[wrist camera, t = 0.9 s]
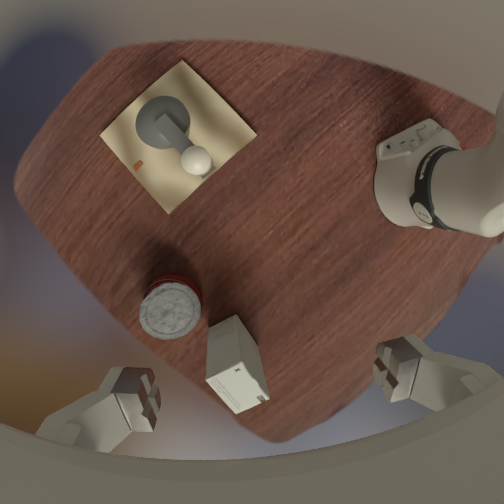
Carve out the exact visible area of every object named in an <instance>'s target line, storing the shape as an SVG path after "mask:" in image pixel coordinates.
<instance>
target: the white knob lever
mask: <svg viewBox="0 0 504 504" xmlns="http://www.w3.org/2000/svg"><path fill="white" fill-rule="evenodd" d="M135 127H136V132H137V135H138V136H139V138H140V139H141V140H142V141H143V142H144V143H145V144H147V145H149V146H151V147H153V148H156V149H169V148H172V147H174V148H175V149H176V150H177V151H178V152H179V153H180V154H181V155H182V157H181V164H182V167H183V168H184V170H185V171H187V172H188V173H191V174H194V175H196V176H201V177H202V178H203V179H204V178H205V177H206V176H207V175H208V174H209V173H210V172H212V171H213V170H214V169H215V166H214V165H213V159H212V157H211V156H210V154H209V153H208V151H207V150H206V149H205V148H203V147H201V146H195V145H194V144H193V143H192V141H191V140H190V139H189V138H188V137H187V136H186V135H187V134H188V132H189V129H190V115H189V113H188V111H187V109H186V107H185V106H184V104H183V103H182V102H181V101H180V100H178V99H177V98H175V97H171V96H159V97H155V98H153V99H151V100H149V101H148V102H147V103H145V104H144V105H143V106H142V108H141V109H140V111H139V112H138V114H137V117H136V122H135Z"/></svg>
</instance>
